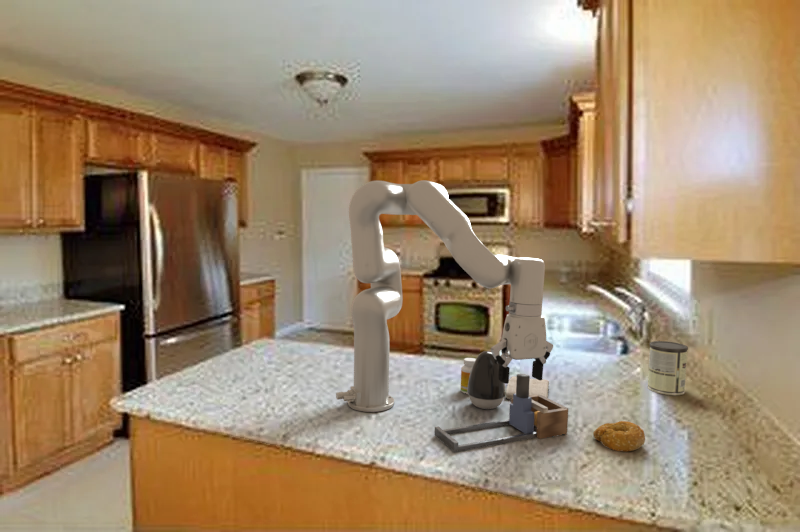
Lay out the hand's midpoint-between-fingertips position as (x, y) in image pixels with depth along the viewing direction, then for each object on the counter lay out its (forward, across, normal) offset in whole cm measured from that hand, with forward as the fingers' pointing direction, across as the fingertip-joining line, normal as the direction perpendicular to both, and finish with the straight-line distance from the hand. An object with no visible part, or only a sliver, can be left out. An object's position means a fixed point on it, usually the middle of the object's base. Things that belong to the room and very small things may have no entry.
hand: (520, 380), depth 122 cm
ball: (+10, +6, -1) cm, 12 cm away
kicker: (+12, +1, -1) cm, 12 cm away
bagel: (+12, +17, -14) cm, 26 cm away
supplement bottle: (+13, +4, +28) cm, 31 cm away
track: (+12, -9, -1) cm, 16 cm away
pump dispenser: (+13, +2, +16) cm, 21 cm away
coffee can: (+12, +62, +9) cm, 63 cm away
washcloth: (+13, +20, +22) cm, 32 cm away
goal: (+12, +6, -1) cm, 13 cm away
